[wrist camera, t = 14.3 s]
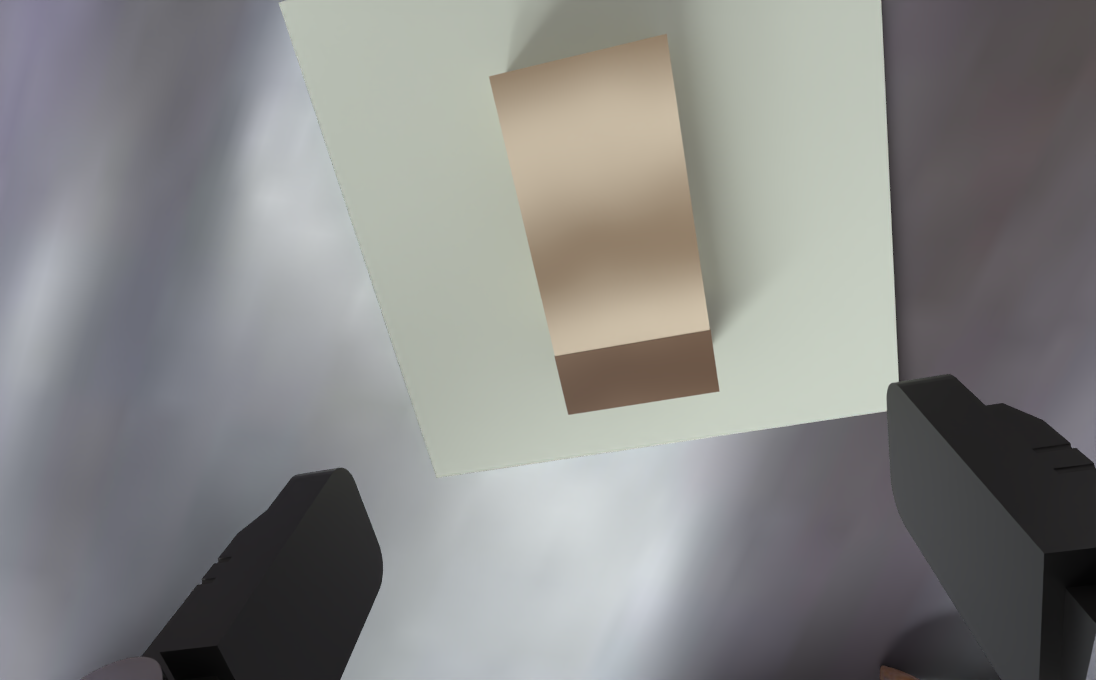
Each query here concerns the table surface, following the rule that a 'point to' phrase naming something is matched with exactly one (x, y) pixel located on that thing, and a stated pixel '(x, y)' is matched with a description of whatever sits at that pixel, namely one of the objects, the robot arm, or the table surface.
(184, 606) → the robot arm
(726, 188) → the sage mat
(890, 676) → the decorative bird
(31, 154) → the table surface
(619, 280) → the maple slab
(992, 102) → the table surface
